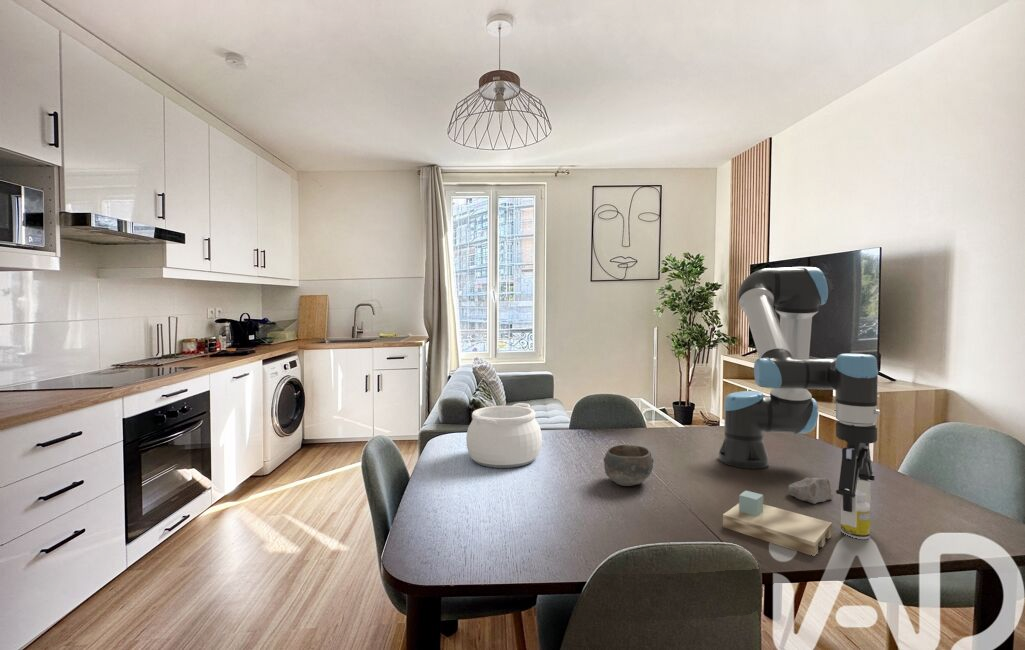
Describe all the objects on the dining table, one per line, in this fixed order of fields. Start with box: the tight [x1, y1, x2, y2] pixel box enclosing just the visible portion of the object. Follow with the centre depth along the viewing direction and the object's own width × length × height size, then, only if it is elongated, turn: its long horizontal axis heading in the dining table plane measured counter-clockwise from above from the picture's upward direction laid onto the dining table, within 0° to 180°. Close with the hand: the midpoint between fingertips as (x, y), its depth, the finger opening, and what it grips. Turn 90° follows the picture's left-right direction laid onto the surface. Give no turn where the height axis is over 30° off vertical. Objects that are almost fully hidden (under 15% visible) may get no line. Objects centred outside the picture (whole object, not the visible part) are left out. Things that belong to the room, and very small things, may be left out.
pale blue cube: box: [738, 490, 764, 516], centre depth 114 cm, size 4×4×4 cm
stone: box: [788, 477, 834, 505], centre depth 129 cm, size 10×8×6 cm
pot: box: [466, 402, 543, 469], centre depth 166 cm, size 29×26×17 cm
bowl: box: [603, 444, 655, 487], centre depth 141 cm, size 14×15×10 cm
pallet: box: [722, 502, 833, 557], centre depth 110 cm, size 19×13×3 cm
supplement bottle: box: [840, 489, 871, 540], centre depth 108 cm, size 5×5×10 cm
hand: (856, 516), depth 108 cm, fingers open, 13 cm apart
